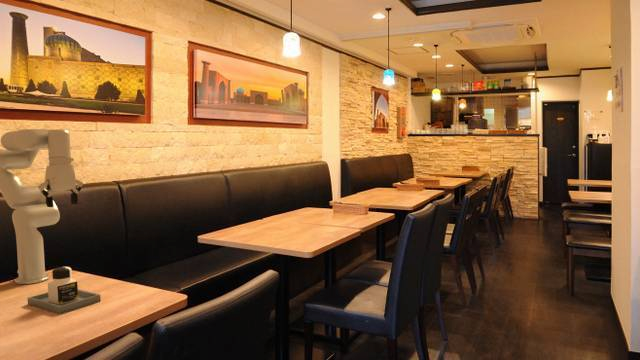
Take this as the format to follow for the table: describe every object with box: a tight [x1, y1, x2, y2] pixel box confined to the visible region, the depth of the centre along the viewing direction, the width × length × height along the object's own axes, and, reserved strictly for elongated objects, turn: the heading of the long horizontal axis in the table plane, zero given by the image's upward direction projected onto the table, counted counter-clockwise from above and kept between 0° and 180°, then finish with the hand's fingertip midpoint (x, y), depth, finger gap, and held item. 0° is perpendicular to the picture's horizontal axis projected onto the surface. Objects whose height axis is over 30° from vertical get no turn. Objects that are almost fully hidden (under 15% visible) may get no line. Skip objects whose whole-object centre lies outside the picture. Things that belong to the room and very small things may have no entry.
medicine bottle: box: [47, 266, 79, 305], centre depth 170 cm, size 7×7×12 cm
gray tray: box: [27, 288, 101, 315], centre depth 171 cm, size 20×15×2 cm
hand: (62, 205), depth 185 cm, fingers open, 9 cm apart
